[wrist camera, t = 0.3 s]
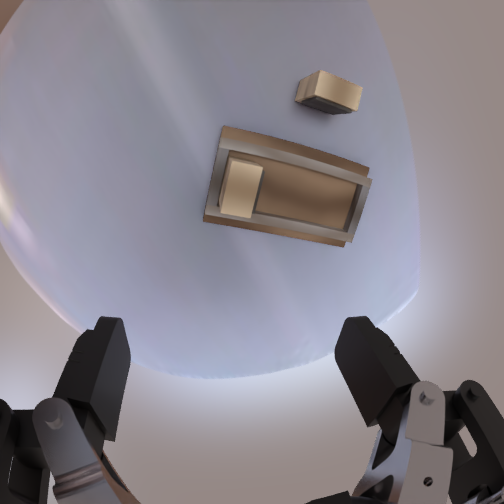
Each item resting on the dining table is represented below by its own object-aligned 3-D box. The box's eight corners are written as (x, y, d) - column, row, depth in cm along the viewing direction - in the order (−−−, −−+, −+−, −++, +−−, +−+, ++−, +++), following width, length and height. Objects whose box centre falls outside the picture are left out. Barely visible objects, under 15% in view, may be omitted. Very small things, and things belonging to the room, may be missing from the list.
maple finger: (336, 93, 30) (362, 87, 24) (330, 116, 32) (356, 114, 25) (300, 80, 29) (320, 69, 23) (294, 103, 31) (313, 97, 24)
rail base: (222, 126, 31) (226, 122, 23) (364, 166, 35) (399, 177, 27) (203, 217, 35) (201, 242, 27) (339, 243, 40) (367, 270, 32)
